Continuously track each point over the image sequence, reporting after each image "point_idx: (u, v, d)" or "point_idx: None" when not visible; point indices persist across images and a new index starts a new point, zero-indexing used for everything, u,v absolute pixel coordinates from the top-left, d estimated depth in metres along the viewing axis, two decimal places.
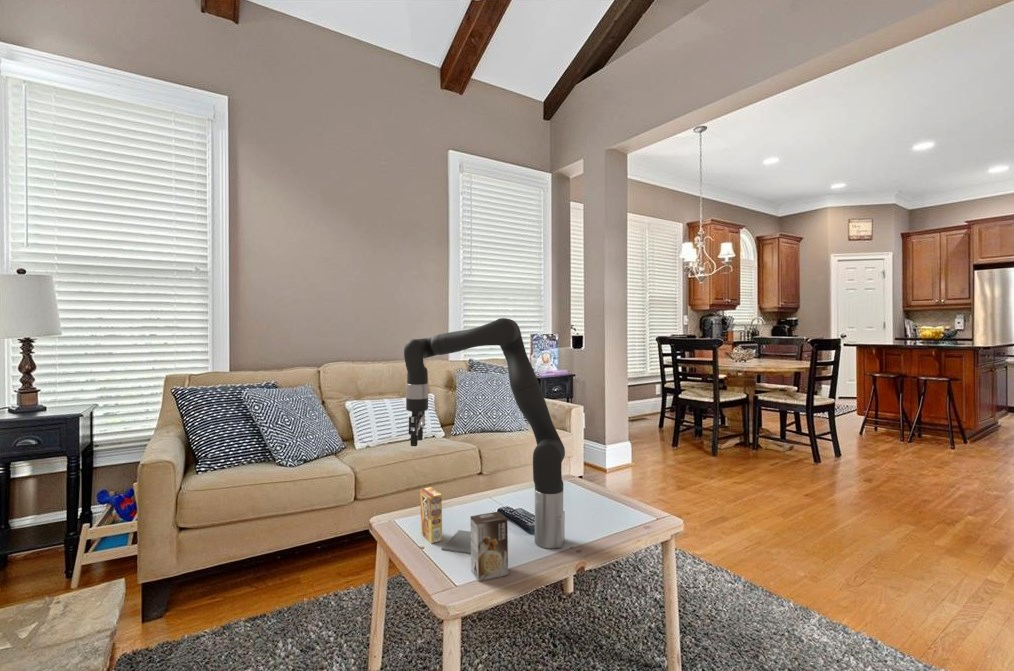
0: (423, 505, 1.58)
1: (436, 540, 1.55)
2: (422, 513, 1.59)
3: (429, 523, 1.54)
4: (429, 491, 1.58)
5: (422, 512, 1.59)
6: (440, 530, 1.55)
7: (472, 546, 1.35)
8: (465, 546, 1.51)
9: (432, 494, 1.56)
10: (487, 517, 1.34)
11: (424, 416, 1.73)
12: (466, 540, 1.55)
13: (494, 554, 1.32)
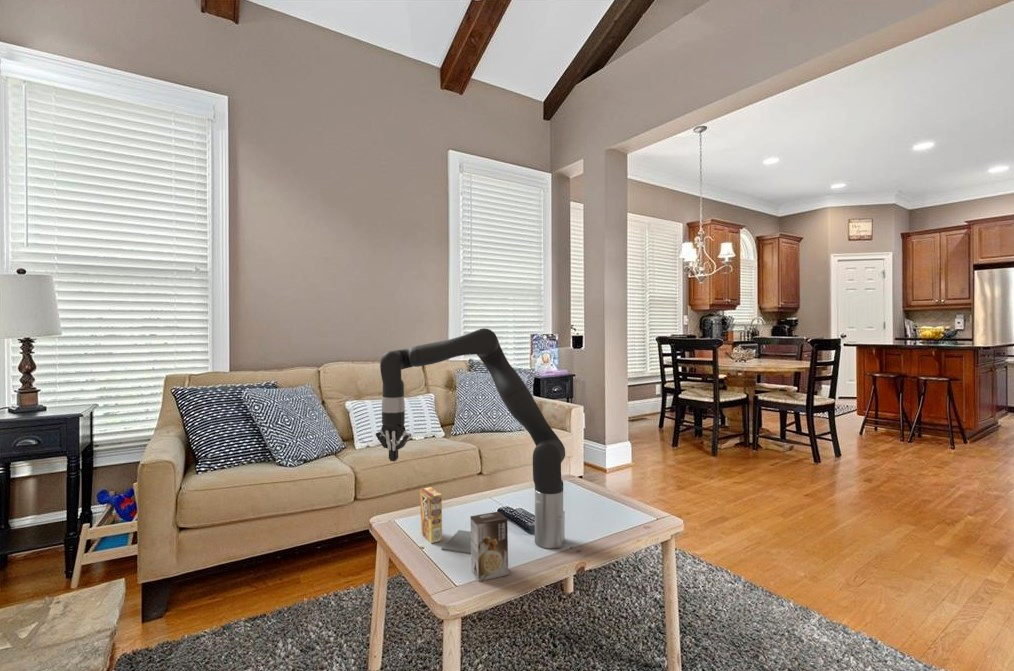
0: (423, 505, 1.58)
1: (436, 540, 1.55)
2: (422, 513, 1.59)
3: (429, 523, 1.54)
4: (429, 491, 1.58)
5: (422, 512, 1.59)
6: (440, 530, 1.55)
7: (472, 546, 1.35)
8: (465, 546, 1.51)
9: (432, 493, 1.56)
10: (487, 517, 1.34)
11: None
12: (466, 540, 1.55)
13: (494, 554, 1.32)
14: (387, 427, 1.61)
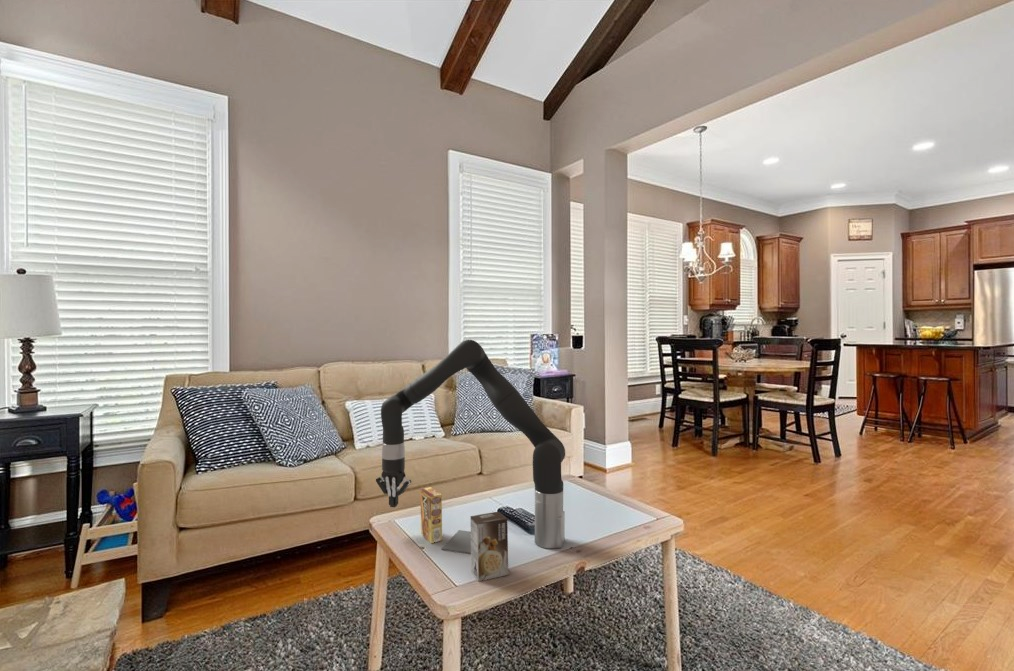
0: (423, 505, 1.58)
1: (436, 540, 1.55)
2: (422, 513, 1.59)
3: (429, 523, 1.54)
4: (429, 491, 1.58)
5: (422, 512, 1.59)
6: (440, 530, 1.55)
7: (472, 546, 1.35)
8: (465, 546, 1.51)
9: (432, 493, 1.56)
10: (487, 517, 1.34)
11: None
12: (466, 540, 1.55)
13: (494, 554, 1.32)
14: (387, 473, 1.62)
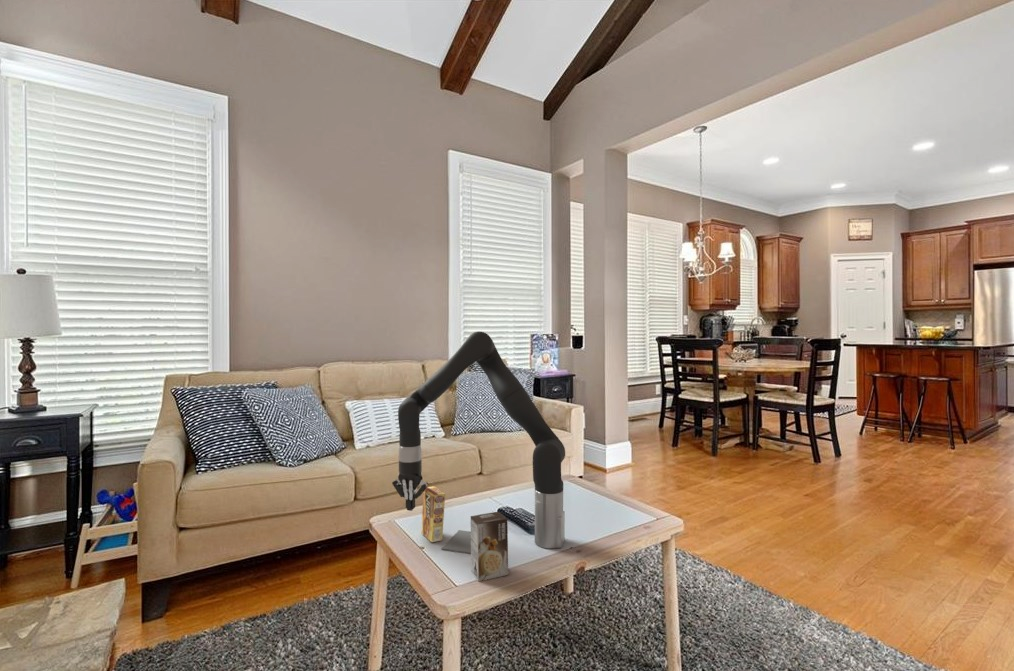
0: (425, 504, 1.59)
1: (436, 539, 1.55)
2: (424, 512, 1.59)
3: (431, 522, 1.55)
4: (432, 490, 1.58)
5: (424, 511, 1.59)
6: (441, 530, 1.55)
7: (472, 546, 1.35)
8: (465, 546, 1.51)
9: (436, 492, 1.57)
10: (487, 517, 1.34)
11: None
12: (466, 540, 1.55)
13: (494, 554, 1.32)
14: (404, 476, 1.60)
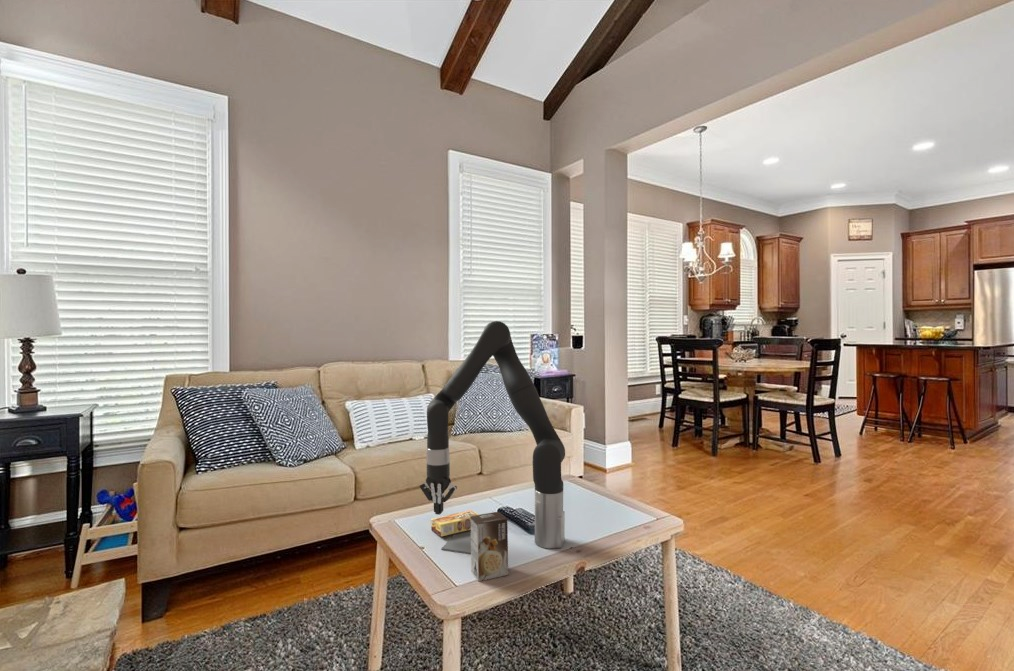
0: (462, 514, 1.67)
1: (442, 529, 1.57)
2: (453, 515, 1.66)
3: (455, 519, 1.61)
4: None
5: (454, 515, 1.67)
6: (450, 532, 1.58)
7: (472, 546, 1.35)
8: (465, 546, 1.51)
9: None
10: (487, 517, 1.34)
11: None
12: (466, 540, 1.55)
13: (494, 554, 1.32)
14: (432, 479, 1.57)
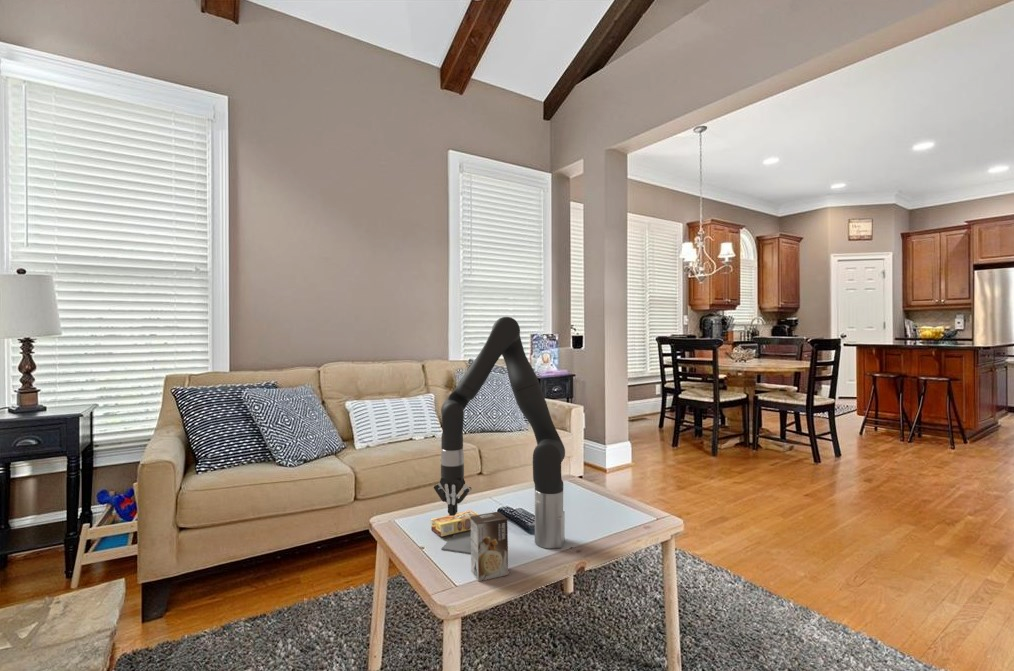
0: (462, 514, 1.67)
1: (442, 529, 1.57)
2: None
3: (455, 519, 1.61)
4: None
5: (454, 515, 1.67)
6: (450, 532, 1.58)
7: (472, 546, 1.35)
8: (465, 546, 1.51)
9: None
10: (487, 517, 1.34)
11: None
12: (466, 540, 1.55)
13: (494, 554, 1.32)
14: (446, 480, 1.55)
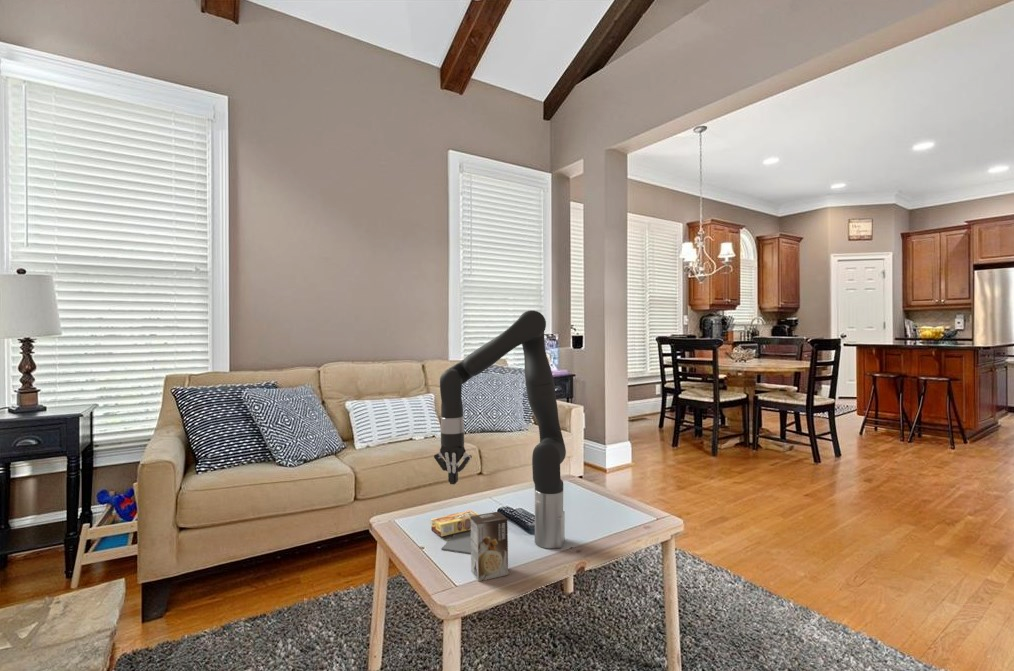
0: (462, 514, 1.67)
1: (442, 529, 1.57)
2: (453, 515, 1.66)
3: (455, 519, 1.61)
4: None
5: (454, 515, 1.67)
6: (450, 532, 1.58)
7: (472, 546, 1.35)
8: (465, 546, 1.51)
9: None
10: (487, 517, 1.34)
11: None
12: (466, 540, 1.55)
13: (494, 554, 1.32)
14: (446, 449, 1.55)
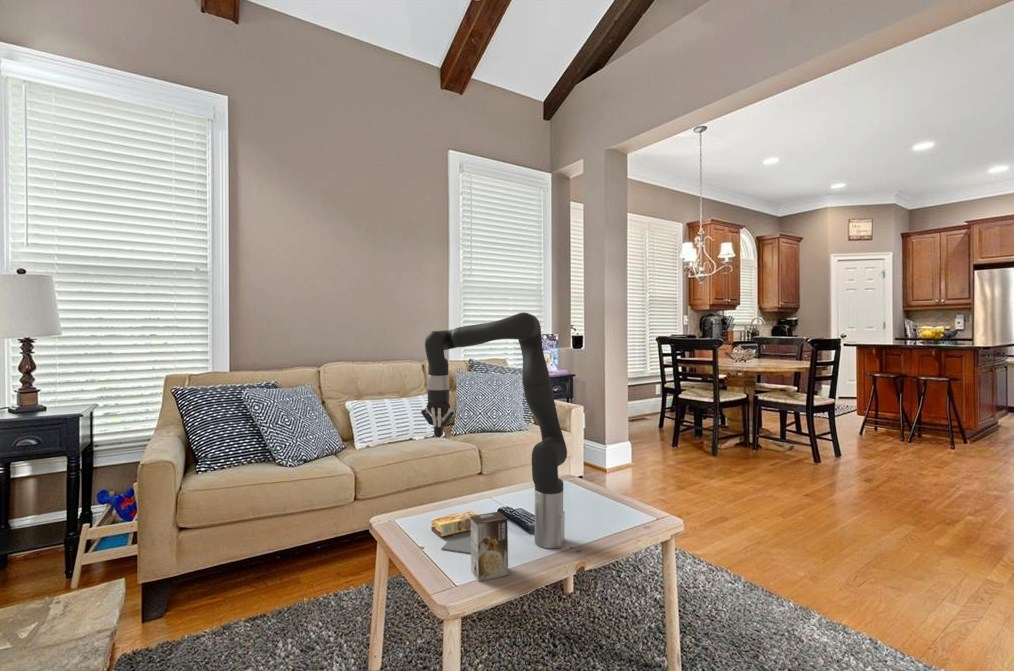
0: (462, 514, 1.67)
1: (442, 529, 1.57)
2: (453, 515, 1.66)
3: (455, 519, 1.61)
4: None
5: (454, 515, 1.67)
6: (450, 532, 1.58)
7: (472, 546, 1.35)
8: (465, 546, 1.51)
9: None
10: (487, 517, 1.34)
11: None
12: (466, 540, 1.55)
13: (494, 554, 1.32)
14: (432, 404, 1.67)
